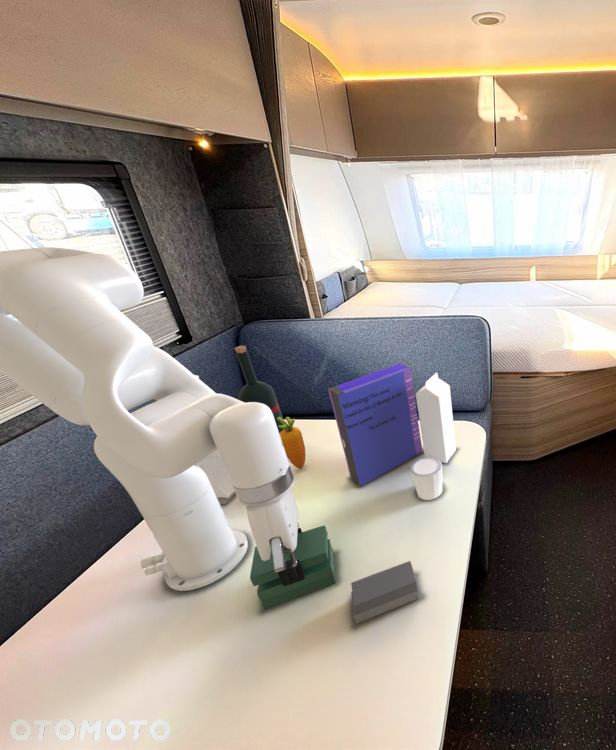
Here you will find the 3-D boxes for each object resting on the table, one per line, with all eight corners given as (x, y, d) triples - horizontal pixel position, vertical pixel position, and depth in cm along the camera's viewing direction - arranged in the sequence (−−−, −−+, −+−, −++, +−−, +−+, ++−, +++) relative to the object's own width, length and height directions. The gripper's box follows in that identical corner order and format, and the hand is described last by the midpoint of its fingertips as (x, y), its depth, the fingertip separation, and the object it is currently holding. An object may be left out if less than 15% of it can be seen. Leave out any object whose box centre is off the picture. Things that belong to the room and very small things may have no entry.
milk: (425, 459, 97) (412, 381, 87) (435, 446, 102) (425, 370, 93) (447, 463, 95) (436, 384, 86) (457, 449, 100) (448, 372, 91)
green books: (264, 609, 63) (256, 593, 61) (268, 576, 68) (261, 561, 66) (336, 582, 66) (330, 566, 65) (334, 554, 72) (329, 538, 70)
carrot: (316, 466, 96) (300, 414, 90) (297, 478, 92) (280, 424, 86) (304, 460, 98) (288, 409, 92) (285, 471, 95) (268, 419, 88)
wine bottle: (271, 441, 107) (236, 339, 94) (299, 447, 104) (267, 342, 91) (246, 457, 100) (204, 350, 88) (275, 465, 97) (236, 354, 84)
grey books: (355, 624, 60) (350, 607, 58) (353, 599, 64) (348, 583, 62) (419, 598, 63) (416, 582, 62) (413, 576, 67) (410, 560, 65)
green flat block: (253, 586, 60) (249, 578, 59) (258, 554, 66) (254, 546, 65) (328, 560, 64) (325, 552, 63) (327, 532, 70) (325, 524, 69)
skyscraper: (220, 479, 93) (175, 374, 81) (253, 479, 92) (212, 373, 80) (194, 504, 85) (139, 392, 73) (229, 504, 85) (180, 392, 73)
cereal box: (412, 445, 103) (398, 362, 92) (422, 452, 100) (410, 367, 89) (350, 477, 92) (327, 388, 81) (360, 486, 88) (337, 394, 78)
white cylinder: (439, 503, 83) (435, 478, 80) (409, 500, 84) (404, 474, 81) (449, 482, 89) (446, 457, 86) (421, 479, 90) (417, 455, 87)
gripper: (244, 456, 64) (275, 534, 71) (224, 531, 49) (265, 619, 57) (294, 444, 66) (318, 521, 74) (289, 512, 52) (319, 599, 60)
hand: (295, 563), depth 65 cm, fingers closed on green flat block, 6 cm apart
